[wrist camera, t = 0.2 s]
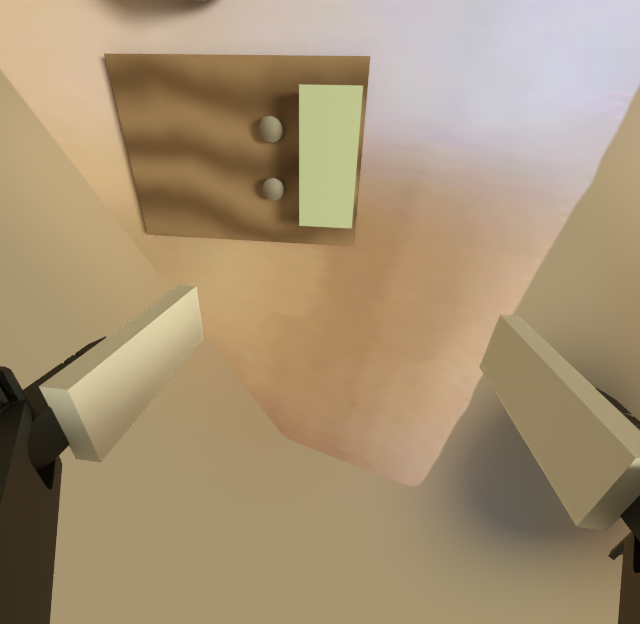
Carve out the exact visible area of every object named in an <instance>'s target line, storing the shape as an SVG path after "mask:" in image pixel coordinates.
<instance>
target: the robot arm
mask: <svg viewBox="0 0 640 624" xmlns="http://www.w3.org/2000/svg"><path fill="white" fill-rule="evenodd" d="M203 339H204V334H203V328H202V321H201V315H200V308H199V302H198V295H197V289H196V286H189V285H178V286H177V287H176V288H174V289H173V290H171V291H170V292H169V293H167V294H166V295H165V296H163V297H162V298H160V299H159V300H158V301H156V302H155V303H153V304H152V305H151V306H149V307H148V308H147V309H145V310H144V311H143V312H141V313H140V314H138V315H137V316H135V317H134V318H133V319H131V320H130V321H129V322H127V323H126V324H124V325H123V326H122V327H120V328H119V329H118V330H116V331H115V332H113V333H112V334H111V335H109V336H108V337H104V338H101V339H99V340H97V341H95V342H92V343H90V344H88V345H87V346H85V347H84V348H82V349H81V350H80V351H78V352H77V353H76V354H75V355H72V356H71V357H70V358H68V359H67V360H65V361H64V363H61V364H60V365H58V366H57V367H55V368H54V369H52V370H51V371H50V372H48V373H47V374H45V375H44V376H42V377H41V378H40V379H38V380H37V381H35V382H34V383H32V384H31V385H30V386H28V387H27V388H25V389H24V390H22V388H21V387H20V385H19V383H18V381H17V379H16V378H15V376H14V374H13V372H12V371H11V369H9V368H6V367H0V624H50V612H51V599H52V586H53V574H54V560H55V548H56V536H57V523H58V510H59V497H60V485H61V473H62V462H61V459H60V457H59V455H60V454H61V452H63V451H64V450H65V449H66V448H67V447H68V446H70V448H71V450H72V452H73V454H74V456H75V458H76V459H80V460H88V461H96V462H102V461H103V459H104V458H105V457H106V456H107V454H108V453H109V452H110V451H111V450H112V448H113V447H114V446H115V445H116V444H117V442H118V441H119V440H120V439H121V437H122V436H123V435H124V434H125V433H126V432H127V430H128V429H129V428H130V427H131V426H132V424H133V423H134V422H135V421H136V420H137V418H138V417H139V416H140V415H141V413H142V412H143V411H144V410H145V409H146V408H147V406H148V405H149V404H150V403H151V401H152V400H153V399H154V398H155V397H156V395H157V394H158V393H159V392H160V391H161V389H162V388H163V387H164V386H165V384H166V383H167V382H168V381H169V380H170V379H171V377H172V376H173V375H174V374H175V373H176V371H177V370H178V369H179V368H180V367H181V365H182V364H183V363H184V362H185V361H186V359H187V358H188V357H189V356H190V355H191V353H192V352H193V351H194V350H195V349H196V347H197V346H198V345H199V343H200V342H201V341H202V340H203ZM480 369H481V370H482V372H483V373H484V375H485V377H486V378H487V380H488V382H489V383H490V385H491V387H492V388H493V390H494V391H495V393H496V395H497V396H498V398H499V400H500V401H501V403H502V404H503V406H504V408H505V410H506V411H507V413H508V414H509V416H510V418H511V419H512V421H513V422H514V424H515V426H516V428H517V429H518V431H519V432H520V434H521V436H522V437H523V439H524V441H525V442H526V444H527V446H528V447H529V449H530V450H531V452H532V454H533V456H534V457H535V459H536V460H537V462H538V464H539V465H540V467H541V468H542V470H543V472H544V474H545V475H546V477H547V479H548V480H549V482H550V483H551V485H552V487H553V488H554V490H555V491H556V493H557V495H558V496H559V498H560V500H561V501H562V503H563V505H564V506H565V508H566V510H567V511H568V513H569V515H570V516H571V518H572V519H573V521H574V523H575V524H576V526H578V527H585V528H593V529H600V530H609V528H611V526H612V525H613V524H614V523H615V522H616V521H617V520H618V519H619V518H620V517H621V518H622V519H623V520H624V522H625V523H626V524H627V526H628V527H629V529H630V530H631V532H630V533H629V534H628V535H627V536H626V537H625V538H624V539H623V540H622V541H621V542H620V543H619V544H618V545H617V546H616V547H615V548H613V549H612V550H611V552H610V554H609V557H611V558H612V559H613V560H614V559H616V557H618V556H619V555H621V554H623V564H622V577H621V591H620V604H619V617H618V624H640V421H639V420H638V419H636V418H635V417H632V416H631V413H630V412H629V411H627V409H625V408H624V407H623V406H622V405H621V404H620V403H619V402H618V401H617V400H615V399H614V398H612V397H610V396H609V395H607V394H606V393H604V392H603V391H601V390H599V389H598V388H594V387H593V386H592V385H591V384H590V383H589V382H588V381H587V380H586V379H585V378H584V377H583V376H582V375H580V374H579V373H578V372H577V371H576V370H575V369H574V368H573V367H572V366H571V365H570V364H569V363H568V362H567V361H566V360H564V359H563V357H562V356H560V355H559V354H558V353H557V352H556V351H555V350H554V349H553V348H552V347H551V346H550V345H549V344H548V343H547V342H546V341H545V340H544V339H542V338H541V337H540V336H539V335H538V334H537V333H536V332H535V331H534V330H533V329H532V328H531V327H529V325H528V324H527V323H526V322H524V321H523V320H522V319H521V318H520V317H519V316H509V315H500V316H499V319H498V322H497V324H496V327H495V329H494V332H493V334H492V337H491V339H490V342H489V344H488V347H487V350H486V352H485V355H484V357H483V360H482V362H481V365H480Z"/></svg>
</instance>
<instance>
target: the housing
mask: <svg viewBox="0 0 640 624" xmlns="http://www.w3.org/2000/svg"><path fill="white" fill-rule="evenodd" d="M362 95H363V86H360V85H303V84H299V226H314V227H333V228H352V219H353V206H354V194H355V182H356V169H357V157H358V144H359V132H360V120H361V107H362Z"/></svg>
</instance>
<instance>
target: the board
mask: <svg viewBox="0 0 640 624" xmlns="http://www.w3.org/2000/svg"><path fill="white" fill-rule="evenodd" d="M104 55H105V60H106V64H107V68H108V72H109V76H110V80H111V85H112V89H113V93H114V97H115V101H116V105H117V110H118V114H119V118H120V122H121V126H122V130H123V134H124V139H125V143H126V147H127V151H128V155H129V159H130V164H131V168H132V172H133V176H134V180H135V184H136V188H137V193H138V197H139V201H140V205H141V209H142V213H143V218H144V222H145V226H146V230H147V234H148V235H166V236H183V237H200V238H218V239H235V240H253V241H270V242H287V243H305V244H322V245H340V246H354V238H355V226H356V215H357V203H358V192H359V180H360V169H361V157H362V145H363V134H364V122H365V111H366V99H367V87H368V76H369V64H370V56H283V55H184V54H104ZM299 84H303V85H360V86H363V95H362V107H361V120H360V132H359V144H358V157H357V169H356V182H355V194H354V206H353V219H352V228H333V227H314V226H299Z"/></svg>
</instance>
